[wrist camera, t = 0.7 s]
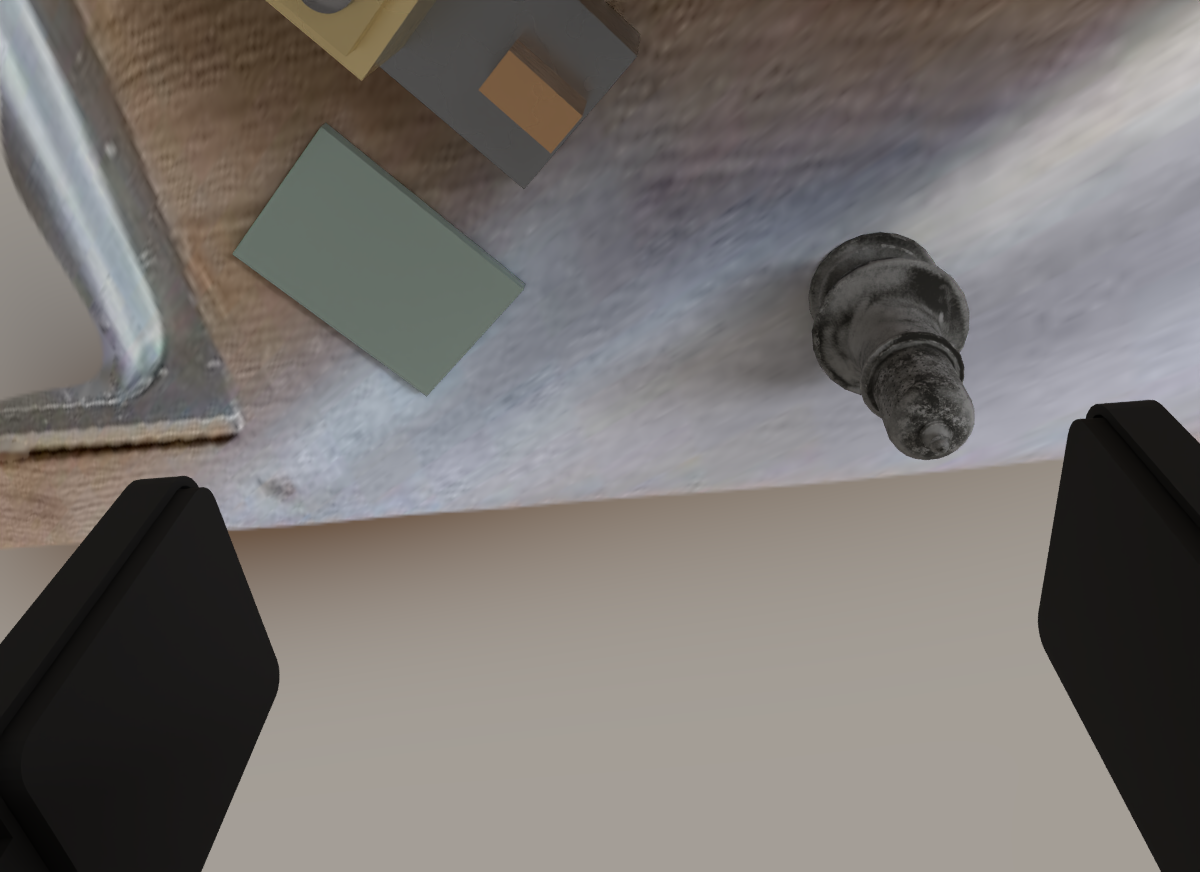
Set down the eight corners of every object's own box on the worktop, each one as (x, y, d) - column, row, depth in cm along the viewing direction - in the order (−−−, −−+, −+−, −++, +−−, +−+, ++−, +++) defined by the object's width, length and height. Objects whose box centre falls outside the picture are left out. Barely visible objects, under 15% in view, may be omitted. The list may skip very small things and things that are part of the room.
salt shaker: (797, 357, 41) (838, 527, 31) (806, 227, 38) (855, 368, 28) (935, 355, 41) (1023, 527, 31) (956, 223, 38) (1062, 365, 28)
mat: (325, 122, 37) (321, 126, 37) (525, 283, 40) (523, 289, 40) (237, 248, 40) (232, 254, 40) (429, 389, 43) (426, 396, 43)
